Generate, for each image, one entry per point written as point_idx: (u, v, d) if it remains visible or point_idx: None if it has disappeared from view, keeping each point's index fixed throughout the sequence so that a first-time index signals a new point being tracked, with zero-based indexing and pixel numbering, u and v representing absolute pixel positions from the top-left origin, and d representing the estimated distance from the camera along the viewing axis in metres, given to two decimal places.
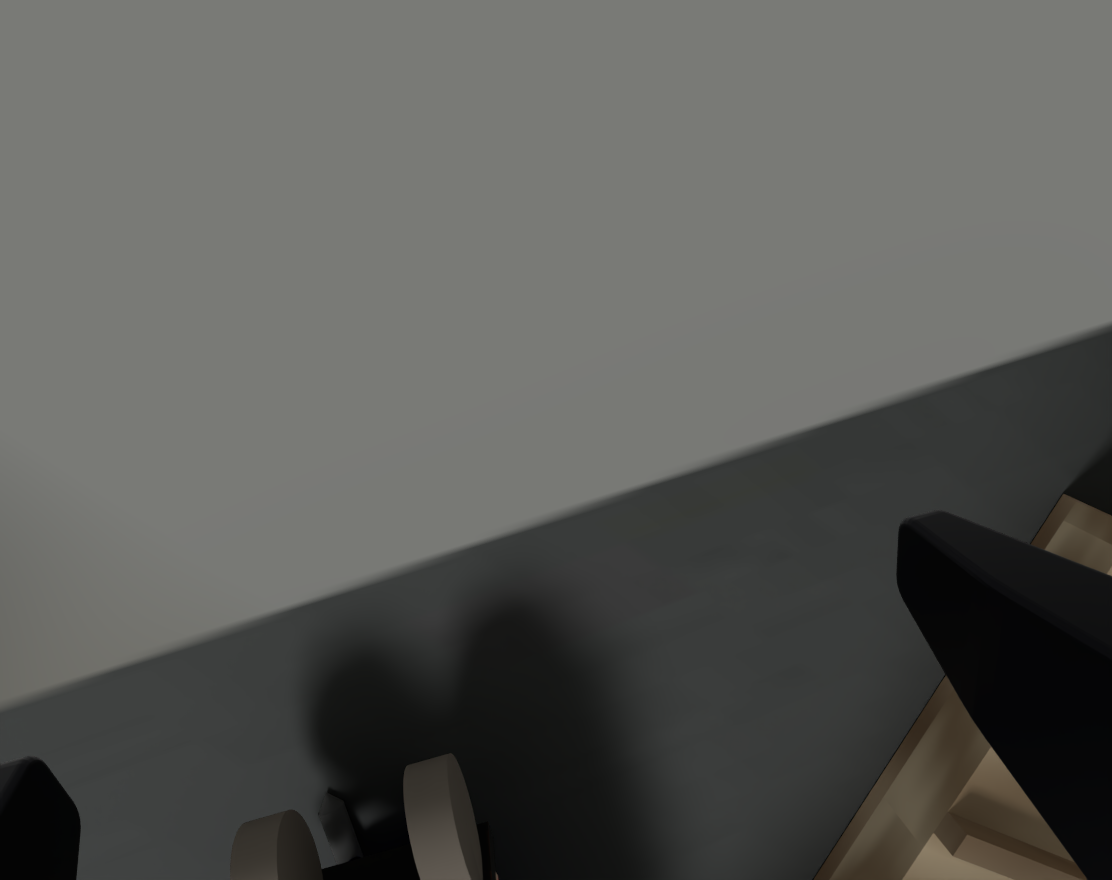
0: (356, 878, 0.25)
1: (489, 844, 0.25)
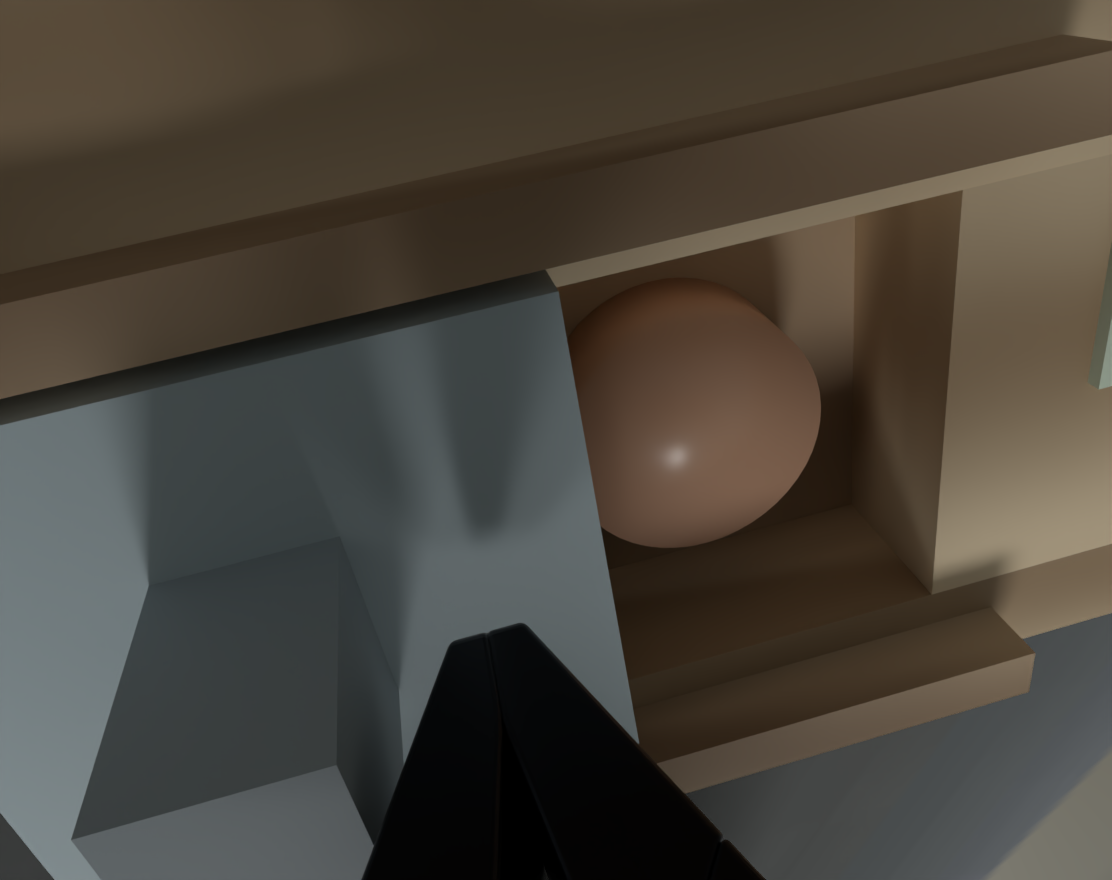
0: None
1: None
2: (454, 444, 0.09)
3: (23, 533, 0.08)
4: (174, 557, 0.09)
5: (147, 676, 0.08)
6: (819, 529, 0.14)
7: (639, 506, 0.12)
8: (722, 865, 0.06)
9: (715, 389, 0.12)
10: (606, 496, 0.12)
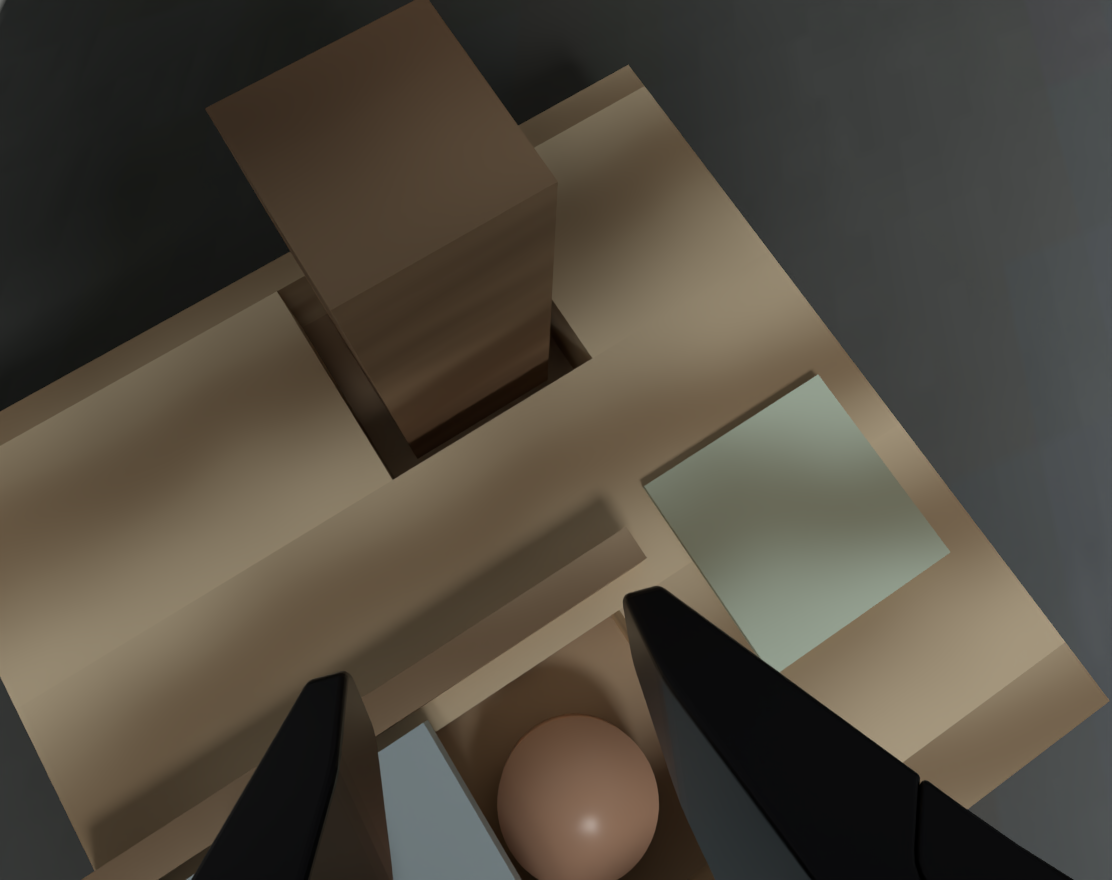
0: None
1: None
2: (400, 820, 0.18)
3: None
4: None
5: None
6: None
7: (565, 861, 0.19)
8: (928, 803, 0.06)
9: (573, 765, 0.20)
10: (540, 860, 0.19)
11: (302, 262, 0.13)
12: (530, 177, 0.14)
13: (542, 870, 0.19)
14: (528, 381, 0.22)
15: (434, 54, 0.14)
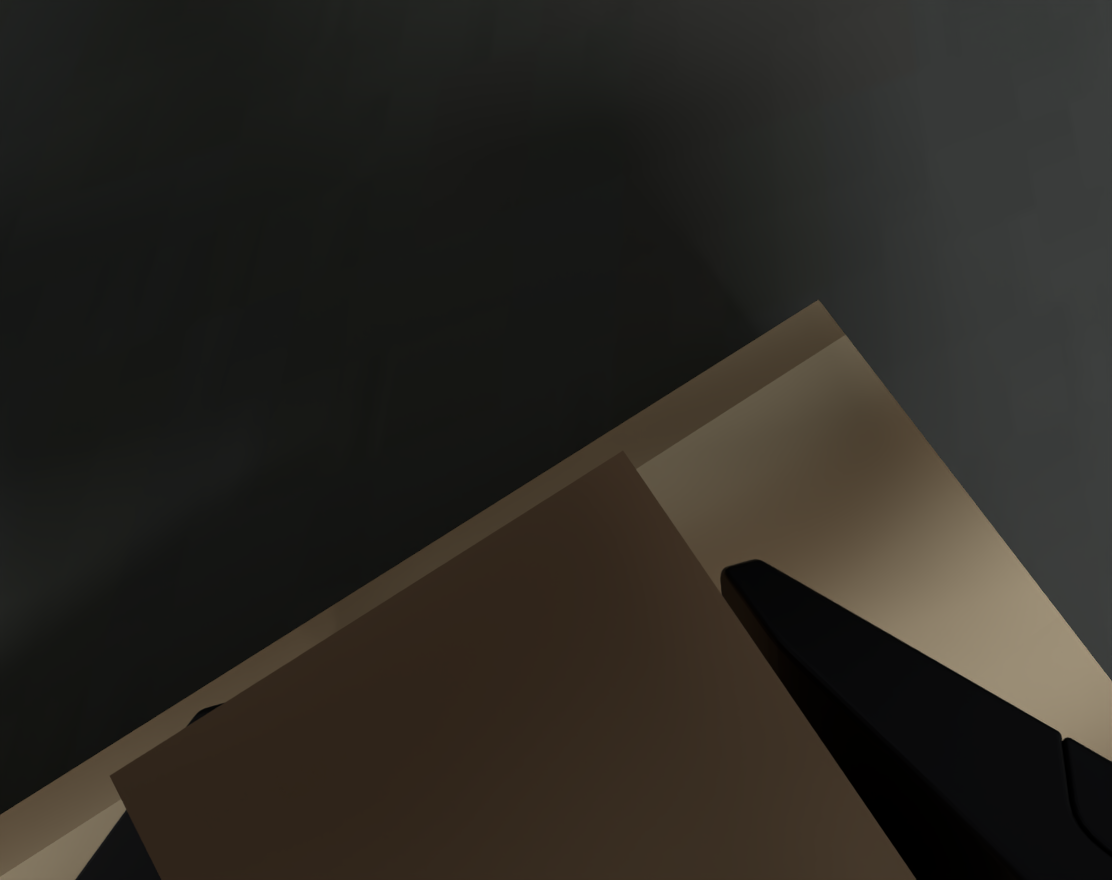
0: None
1: None
2: None
3: None
4: None
5: None
6: None
7: None
8: (1076, 758, 0.06)
9: None
10: None
11: None
12: None
13: None
14: None
15: (655, 609, 0.06)
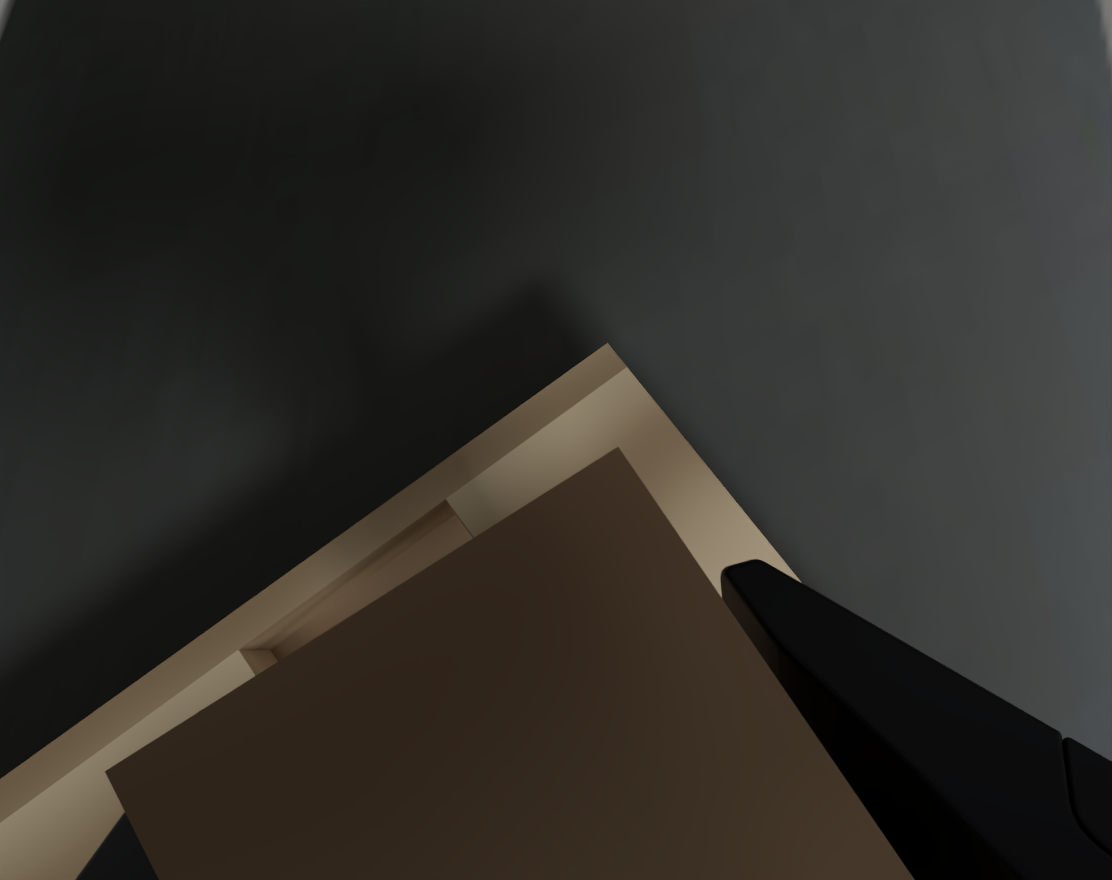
0: None
1: None
2: None
3: None
4: None
5: None
6: None
7: None
8: (1076, 758, 0.06)
9: None
10: None
11: None
12: None
13: None
14: None
15: (649, 604, 0.06)
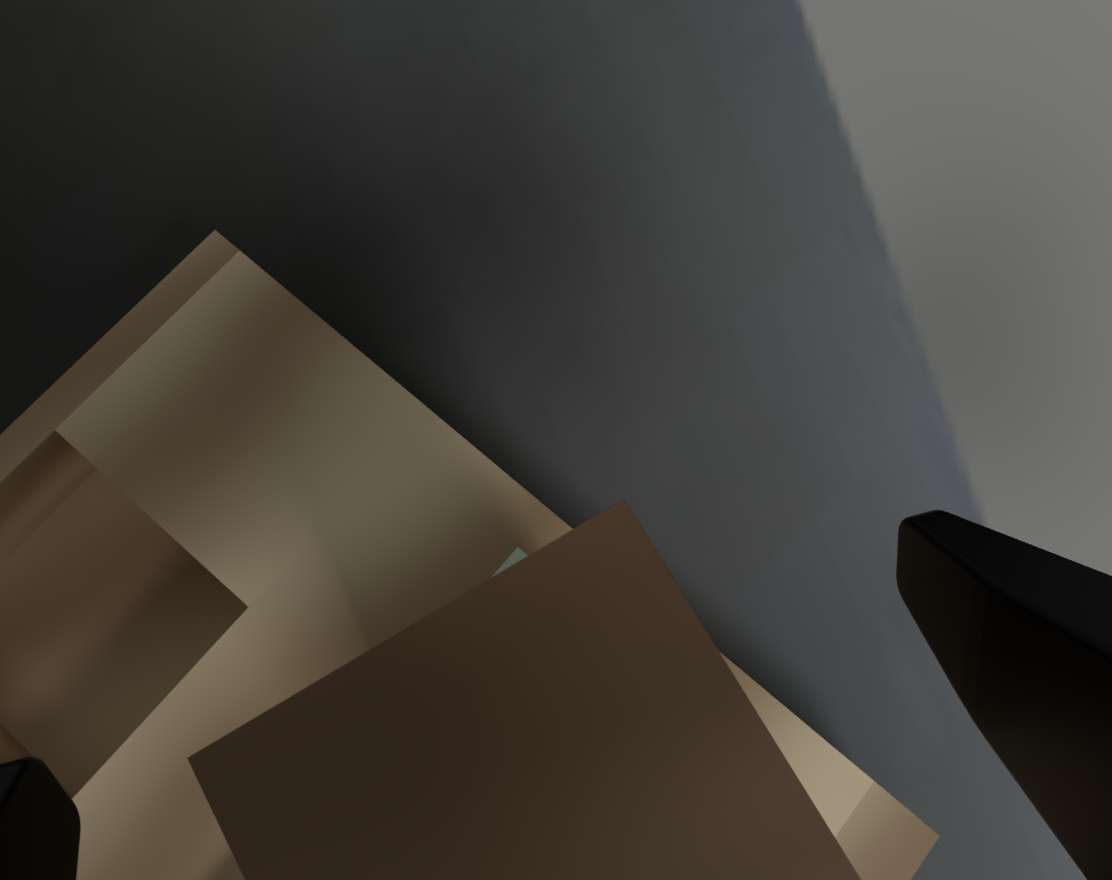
0: None
1: None
2: None
3: None
4: None
5: None
6: None
7: None
8: None
9: None
10: None
11: None
12: None
13: None
14: None
15: (645, 635, 0.07)
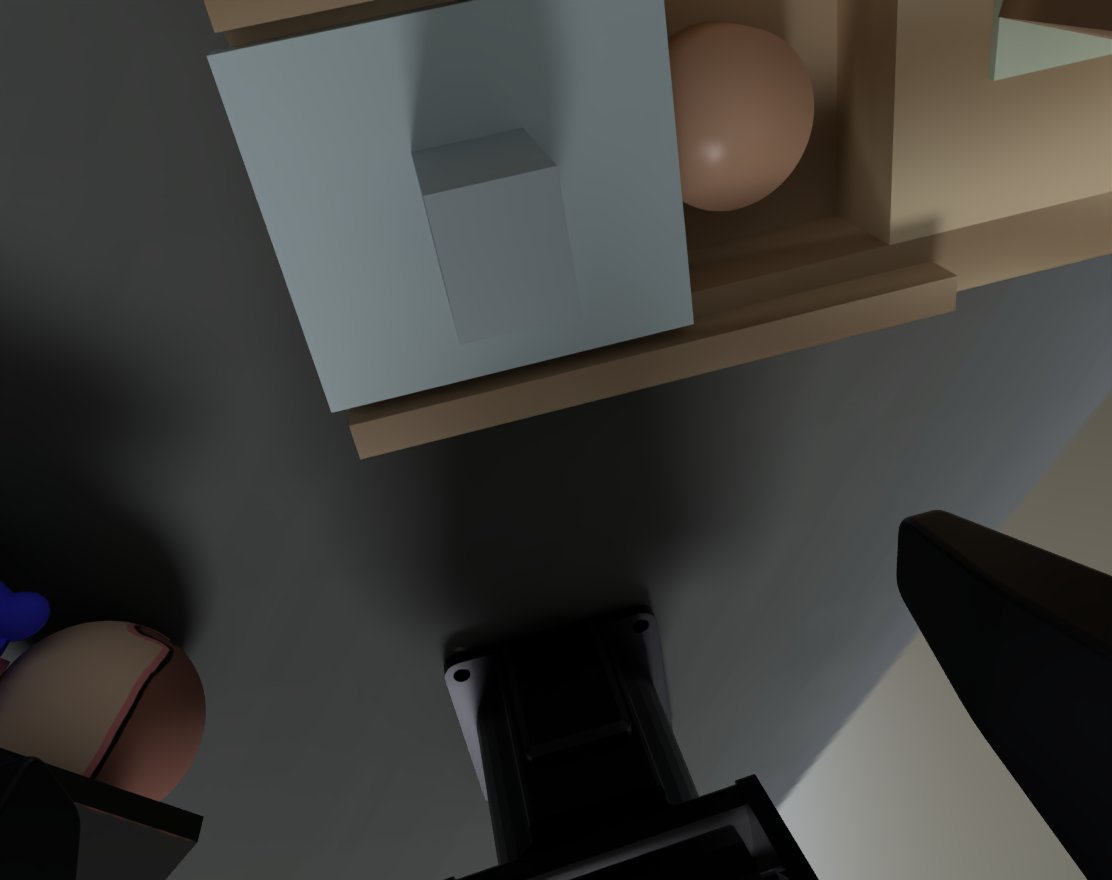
0: None
1: None
2: (594, 66, 0.15)
3: (348, 104, 0.15)
4: (427, 132, 0.15)
5: (431, 167, 0.14)
6: (814, 227, 0.21)
7: (694, 175, 0.18)
8: None
9: (744, 84, 0.18)
10: None
11: None
12: None
13: None
14: None
15: None
